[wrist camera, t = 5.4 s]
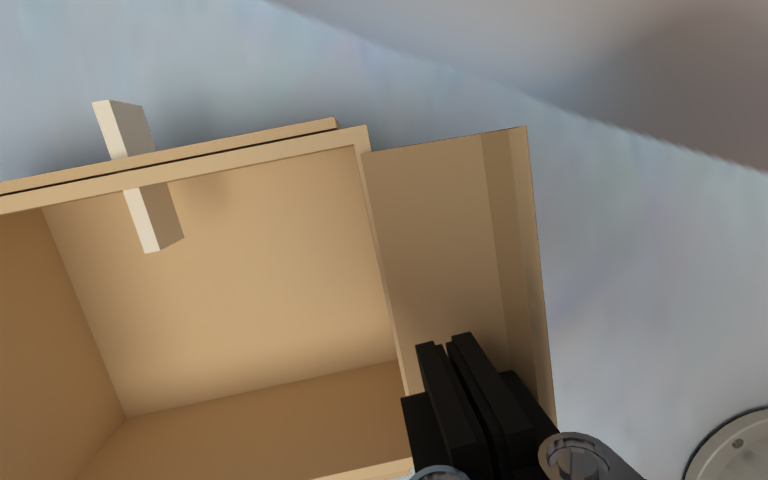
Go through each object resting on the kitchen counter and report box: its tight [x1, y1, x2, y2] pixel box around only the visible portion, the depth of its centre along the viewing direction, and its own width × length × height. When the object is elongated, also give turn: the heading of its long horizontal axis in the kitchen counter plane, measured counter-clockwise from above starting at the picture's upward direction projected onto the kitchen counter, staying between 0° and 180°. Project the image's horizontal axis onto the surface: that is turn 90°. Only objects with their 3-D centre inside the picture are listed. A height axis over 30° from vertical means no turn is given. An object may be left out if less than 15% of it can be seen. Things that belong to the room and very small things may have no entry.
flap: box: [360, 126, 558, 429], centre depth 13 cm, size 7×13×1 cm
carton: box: [0, 100, 414, 480], centre depth 20 cm, size 19×18×9 cm
